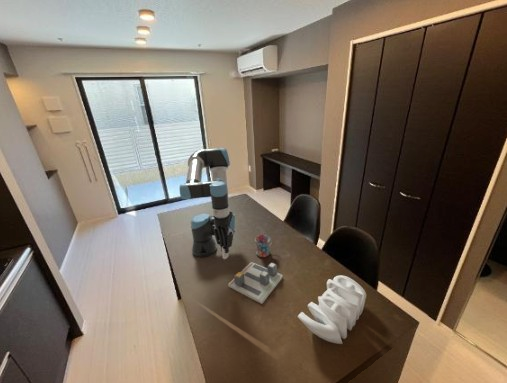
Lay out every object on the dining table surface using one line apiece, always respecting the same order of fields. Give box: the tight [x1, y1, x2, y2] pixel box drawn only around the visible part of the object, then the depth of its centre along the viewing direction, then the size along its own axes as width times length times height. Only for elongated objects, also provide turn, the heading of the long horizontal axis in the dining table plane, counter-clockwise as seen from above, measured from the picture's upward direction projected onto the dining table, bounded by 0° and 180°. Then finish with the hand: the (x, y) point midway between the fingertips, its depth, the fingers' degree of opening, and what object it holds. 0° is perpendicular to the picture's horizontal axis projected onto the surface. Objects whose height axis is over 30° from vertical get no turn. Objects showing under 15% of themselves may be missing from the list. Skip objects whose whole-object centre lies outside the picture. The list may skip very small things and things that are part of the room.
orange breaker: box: [233, 271, 245, 287], centre depth 112 cm, size 4×4×6 cm
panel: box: [228, 261, 283, 304], centre depth 115 cm, size 20×20×7 cm
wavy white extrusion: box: [297, 274, 368, 345], centre depth 94 cm, size 35×16×11 cm, turn 132°
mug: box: [254, 234, 274, 258], centre depth 137 cm, size 12×9×11 cm
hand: (225, 257), depth 113 cm, fingers closed
